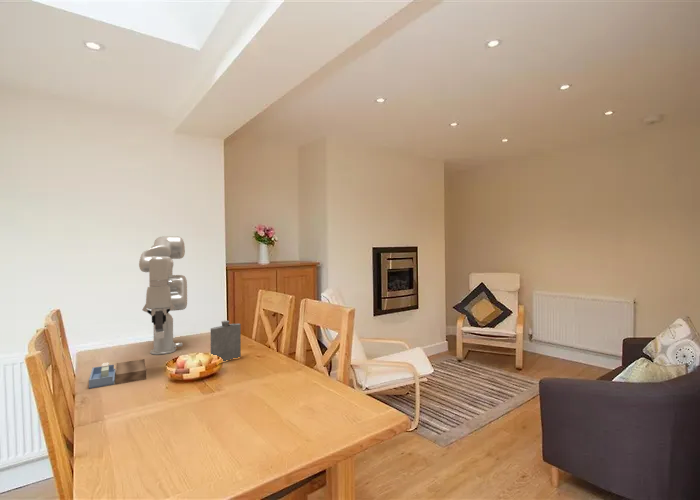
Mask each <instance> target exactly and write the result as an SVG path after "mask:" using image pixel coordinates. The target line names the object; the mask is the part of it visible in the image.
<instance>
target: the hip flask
mask: <svg viewBox="0 0 700 500" xmlns="http://www.w3.org/2000/svg"><path fill="white" fill-rule="evenodd" d="M241 325H242V324H241V323H230V321H229V320H222V321H221V325H219V326H215V327H211V328H210V355H211V354H213V355H217V356H219V357H221V358H222V359H223V361H226V360H230V359H233V358H238V357H242V356H241V353H242V352H241V350H242V349H241V347H242V346H241V342H242V341H241V336H242V335H241V334H242V333H241V331H242V330H241Z"/></svg>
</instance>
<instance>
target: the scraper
mask: <svg viewBox="0 0 700 500" xmlns="http://www.w3.org/2000/svg"><path fill="white" fill-rule="evenodd" d="M154 333H155V336H156V339H160V338H164V330H163V311H162V310H158V311H155V326H154V325H153V334H154Z"/></svg>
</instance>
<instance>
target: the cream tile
mask: <svg viewBox="0 0 700 500" xmlns="http://www.w3.org/2000/svg"><path fill="white" fill-rule="evenodd" d="M101 363H102V364H101V366H102V368H103V367H109V365H110V362H108V361H107V362H101Z"/></svg>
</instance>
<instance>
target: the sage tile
mask: <svg viewBox="0 0 700 500" xmlns="http://www.w3.org/2000/svg"><path fill="white" fill-rule="evenodd" d="M103 377H109V367H103V368H102V369H101V378H103Z"/></svg>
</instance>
